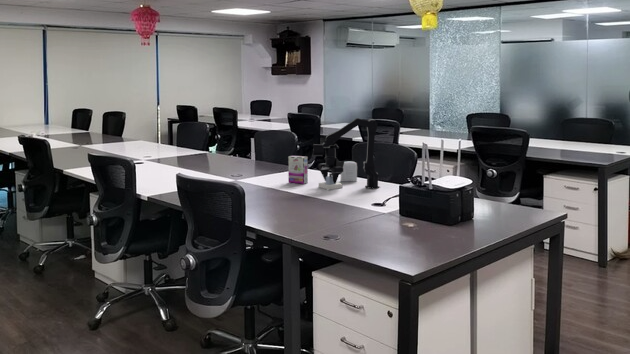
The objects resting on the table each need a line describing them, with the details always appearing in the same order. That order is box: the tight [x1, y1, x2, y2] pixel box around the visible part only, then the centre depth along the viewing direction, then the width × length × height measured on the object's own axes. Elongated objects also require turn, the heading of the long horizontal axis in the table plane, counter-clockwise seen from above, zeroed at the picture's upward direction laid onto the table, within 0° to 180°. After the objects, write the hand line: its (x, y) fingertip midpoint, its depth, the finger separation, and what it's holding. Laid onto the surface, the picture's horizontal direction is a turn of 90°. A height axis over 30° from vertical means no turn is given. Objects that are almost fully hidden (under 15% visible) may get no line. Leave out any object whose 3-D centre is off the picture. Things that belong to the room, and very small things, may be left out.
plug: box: [325, 172, 334, 185], centre depth 343 cm, size 4×4×8 cm
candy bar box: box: [287, 155, 309, 185], centre depth 356 cm, size 11×5×16 cm, turn 62°
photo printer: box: [340, 160, 358, 182], centre depth 363 cm, size 10×4×12 cm, turn 98°
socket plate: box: [318, 181, 343, 191], centre depth 344 cm, size 10×10×3 cm
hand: (330, 182), depth 343 cm, fingers open, 9 cm apart
